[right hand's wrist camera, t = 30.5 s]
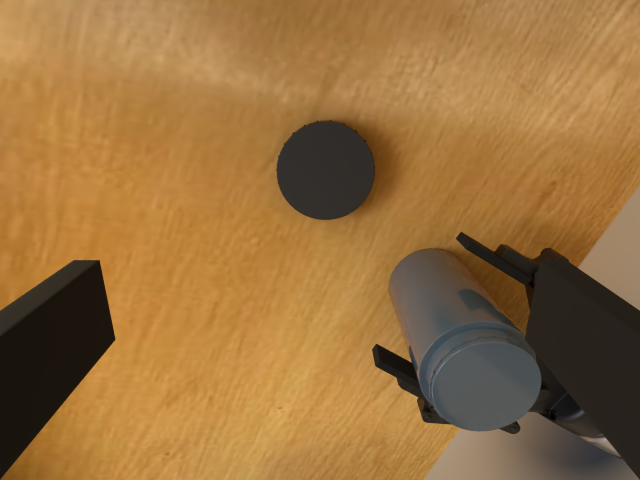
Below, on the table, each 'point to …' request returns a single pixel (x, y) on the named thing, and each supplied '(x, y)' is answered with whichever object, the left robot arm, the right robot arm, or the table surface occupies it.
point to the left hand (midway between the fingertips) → (416, 300)
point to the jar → (462, 343)
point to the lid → (325, 170)
